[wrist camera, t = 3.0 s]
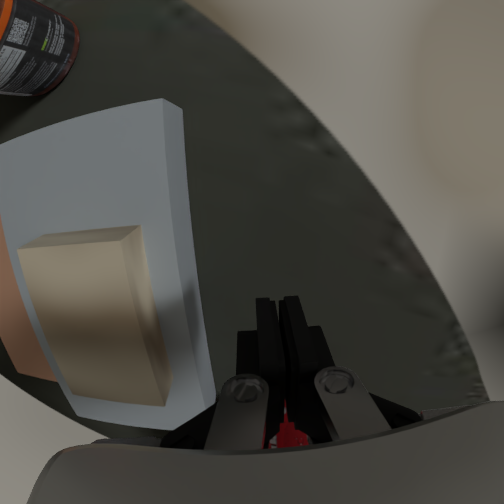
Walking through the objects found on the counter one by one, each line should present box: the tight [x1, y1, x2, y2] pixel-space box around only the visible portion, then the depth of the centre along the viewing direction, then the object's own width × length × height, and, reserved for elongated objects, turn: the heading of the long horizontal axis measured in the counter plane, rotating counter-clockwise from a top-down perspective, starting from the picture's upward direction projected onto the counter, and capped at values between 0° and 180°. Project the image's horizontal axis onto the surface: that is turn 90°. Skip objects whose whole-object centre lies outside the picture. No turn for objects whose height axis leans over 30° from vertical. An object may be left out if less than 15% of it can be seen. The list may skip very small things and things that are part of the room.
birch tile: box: [17, 225, 173, 407], centre depth 13 cm, size 9×6×2 cm, turn 3°
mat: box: [0, 215, 58, 382], centre depth 18 cm, size 20×10×1 cm, turn 3°
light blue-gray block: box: [0, 98, 216, 430], centre depth 16 cm, size 20×11×4 cm, turn 3°
